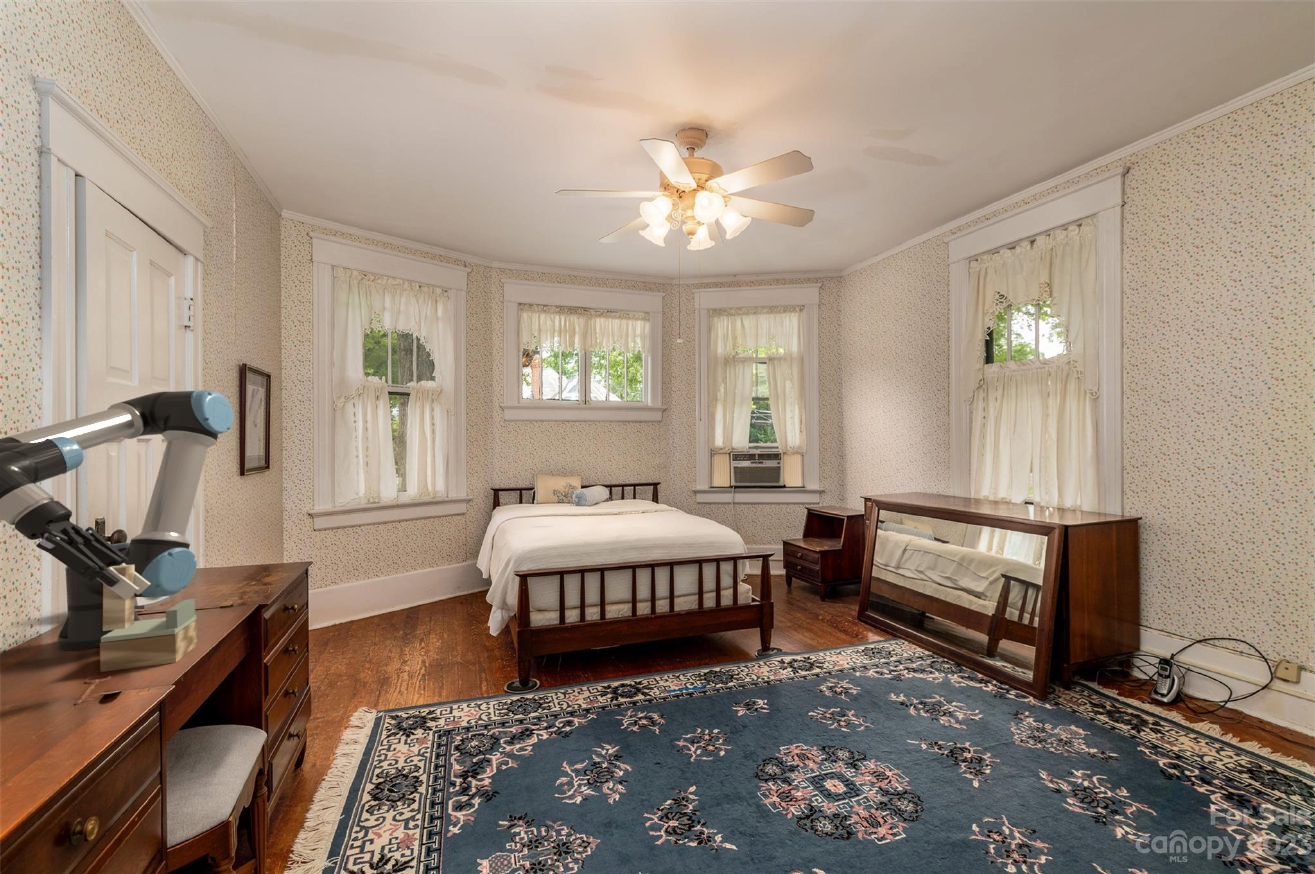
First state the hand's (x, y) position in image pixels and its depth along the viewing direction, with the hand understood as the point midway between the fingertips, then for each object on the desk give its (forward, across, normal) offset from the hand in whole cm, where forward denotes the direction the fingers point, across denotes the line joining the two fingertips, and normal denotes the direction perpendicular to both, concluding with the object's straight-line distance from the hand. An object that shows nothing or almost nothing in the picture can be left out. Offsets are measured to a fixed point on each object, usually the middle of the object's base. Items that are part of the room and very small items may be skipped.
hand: (138, 591), depth 118 cm
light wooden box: (+10, -16, -16) cm, 24 cm away
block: (+3, 0, -7) cm, 7 cm away
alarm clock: (-7, -69, -33) cm, 77 cm away
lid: (+5, -16, -12) cm, 20 cm away
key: (+9, +1, -18) cm, 20 cm away
